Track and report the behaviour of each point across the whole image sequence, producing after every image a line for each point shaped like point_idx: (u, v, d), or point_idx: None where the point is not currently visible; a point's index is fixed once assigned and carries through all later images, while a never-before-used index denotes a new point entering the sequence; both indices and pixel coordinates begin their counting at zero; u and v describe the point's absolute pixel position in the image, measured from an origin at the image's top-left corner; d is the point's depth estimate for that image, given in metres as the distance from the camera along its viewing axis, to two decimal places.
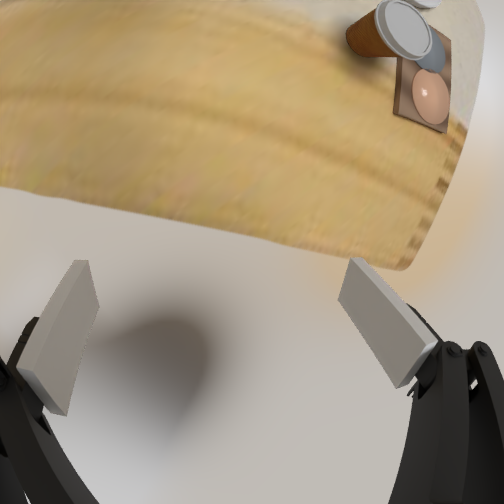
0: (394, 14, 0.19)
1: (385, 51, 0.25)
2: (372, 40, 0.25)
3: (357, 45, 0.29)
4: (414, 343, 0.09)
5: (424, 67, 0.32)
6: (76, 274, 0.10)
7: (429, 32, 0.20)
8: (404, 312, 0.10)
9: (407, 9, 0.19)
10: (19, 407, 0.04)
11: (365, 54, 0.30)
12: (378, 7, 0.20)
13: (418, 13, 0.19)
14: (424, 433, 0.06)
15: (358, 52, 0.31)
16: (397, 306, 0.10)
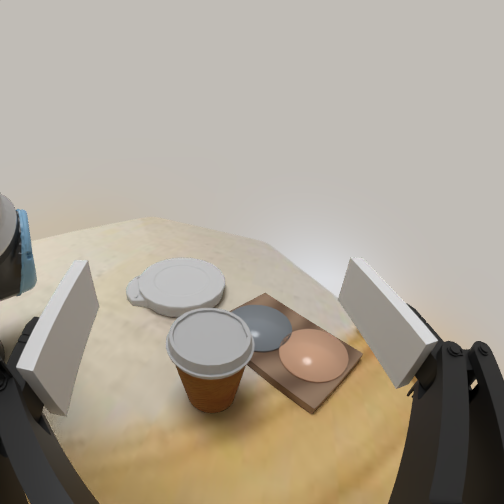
0: (185, 340, 0.26)
1: (226, 385, 0.26)
2: (205, 389, 0.26)
3: (208, 406, 0.29)
4: (414, 343, 0.09)
5: (278, 344, 0.40)
6: (76, 274, 0.10)
7: (229, 314, 0.31)
8: (404, 312, 0.10)
9: (191, 319, 0.29)
10: (19, 407, 0.04)
11: (224, 404, 0.30)
12: (168, 351, 0.26)
13: (203, 310, 0.31)
14: (424, 433, 0.06)
15: (219, 409, 0.30)
16: (397, 306, 0.10)
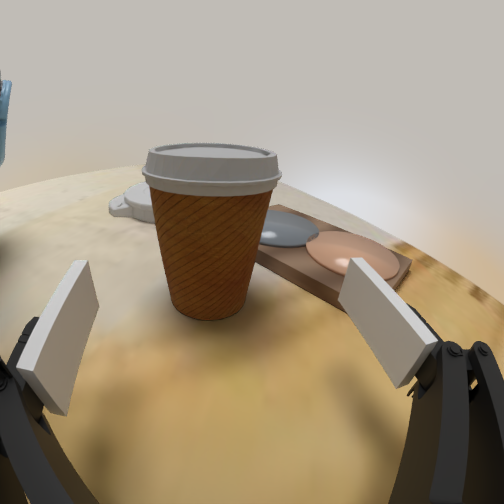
0: (173, 154, 0.16)
1: (236, 229, 0.16)
2: (197, 236, 0.16)
3: (201, 297, 0.19)
4: (414, 343, 0.09)
5: (304, 240, 0.30)
6: (76, 274, 0.10)
7: (242, 146, 0.20)
8: (404, 312, 0.10)
9: (186, 148, 0.19)
10: (19, 407, 0.04)
11: (230, 300, 0.20)
12: (144, 169, 0.16)
13: (203, 144, 0.21)
14: (424, 433, 0.06)
15: (220, 312, 0.20)
16: (397, 306, 0.10)
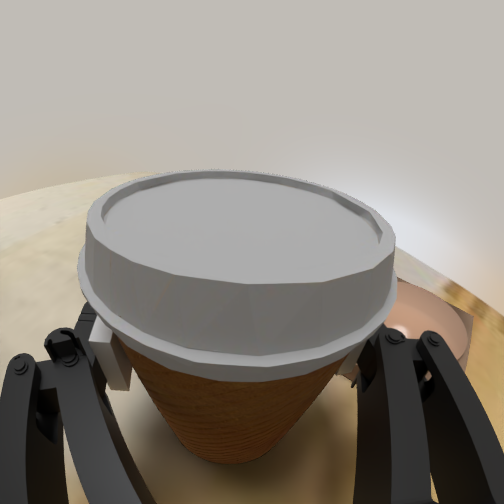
0: (148, 215, 0.07)
1: (303, 399, 0.07)
2: (220, 419, 0.06)
3: (224, 455, 0.09)
4: None
5: None
6: None
7: (291, 180, 0.11)
8: None
9: (181, 185, 0.10)
10: (89, 386, 0.06)
11: (269, 446, 0.10)
12: (82, 258, 0.06)
13: (216, 173, 0.11)
14: (374, 431, 0.06)
15: (251, 458, 0.10)
16: None
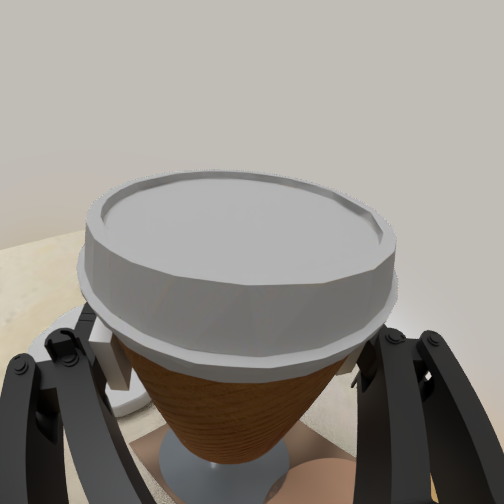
0: (148, 216, 0.07)
1: (303, 399, 0.07)
2: (220, 420, 0.06)
3: (224, 455, 0.09)
4: None
5: (260, 501, 0.14)
6: None
7: (292, 180, 0.11)
8: None
9: (181, 185, 0.10)
10: (89, 386, 0.06)
11: (269, 447, 0.10)
12: (82, 258, 0.06)
13: (216, 173, 0.11)
14: (374, 431, 0.06)
15: (252, 458, 0.10)
16: None
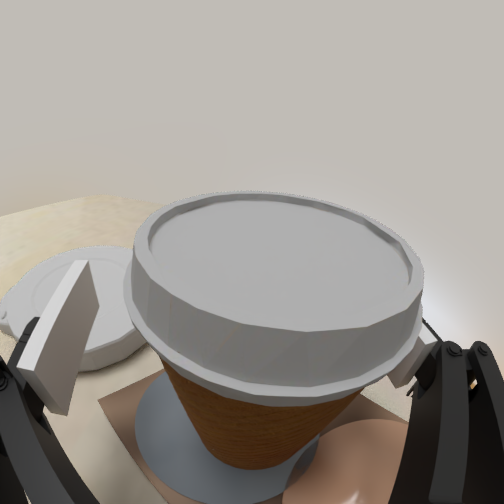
0: (194, 247, 0.07)
1: (333, 414, 0.07)
2: (258, 433, 0.07)
3: (251, 462, 0.09)
4: None
5: (281, 484, 0.10)
6: (76, 274, 0.10)
7: (324, 204, 0.11)
8: None
9: (218, 209, 0.10)
10: (19, 407, 0.04)
11: (292, 454, 0.10)
12: (127, 287, 0.07)
13: (251, 195, 0.11)
14: (424, 433, 0.06)
15: (275, 464, 0.10)
16: None
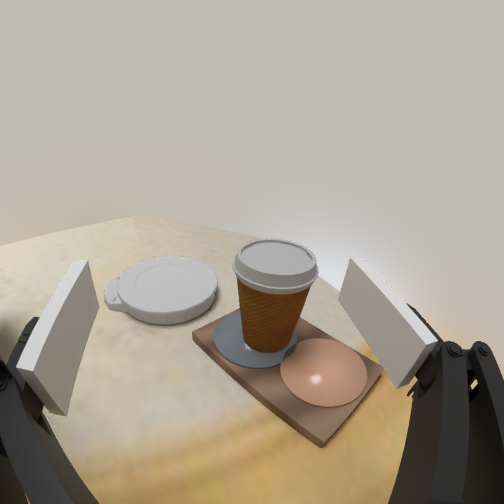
0: (253, 259, 0.29)
1: (291, 307, 0.28)
2: (270, 311, 0.28)
3: (267, 341, 0.31)
4: (414, 343, 0.09)
5: (279, 359, 0.31)
6: (75, 274, 0.10)
7: (292, 243, 0.33)
8: (404, 312, 0.10)
9: (256, 246, 0.32)
10: (19, 407, 0.04)
11: (283, 341, 0.32)
12: (236, 270, 0.28)
13: (267, 240, 0.33)
14: (424, 433, 0.06)
15: (276, 348, 0.32)
16: (397, 306, 0.10)
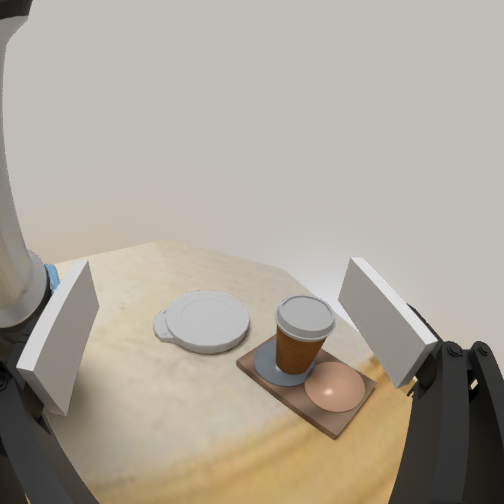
0: (291, 316, 0.39)
1: (316, 347, 0.39)
2: (301, 351, 0.39)
3: (296, 368, 0.41)
4: (414, 343, 0.09)
5: (303, 379, 0.42)
6: (76, 274, 0.10)
7: (316, 298, 0.43)
8: (404, 312, 0.10)
9: (291, 302, 0.42)
10: (19, 407, 0.04)
11: (306, 367, 0.42)
12: (279, 324, 0.39)
13: (297, 296, 0.43)
14: (424, 433, 0.06)
15: (301, 371, 0.42)
16: (397, 306, 0.10)
